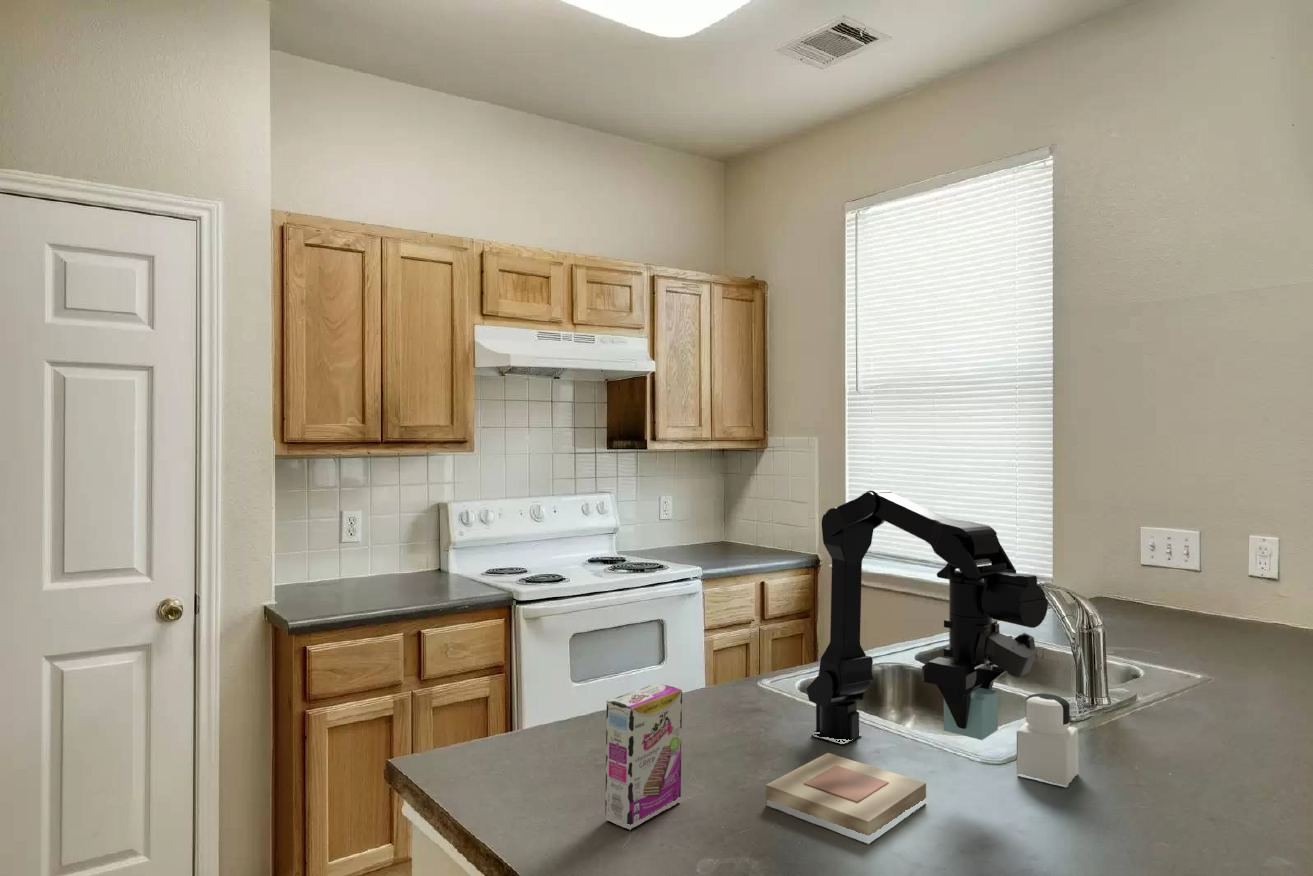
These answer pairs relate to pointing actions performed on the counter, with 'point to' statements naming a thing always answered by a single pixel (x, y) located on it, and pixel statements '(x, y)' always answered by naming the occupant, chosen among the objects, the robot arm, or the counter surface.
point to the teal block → (976, 715)
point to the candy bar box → (643, 752)
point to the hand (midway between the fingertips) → (970, 722)
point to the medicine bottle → (1047, 740)
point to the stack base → (847, 793)
